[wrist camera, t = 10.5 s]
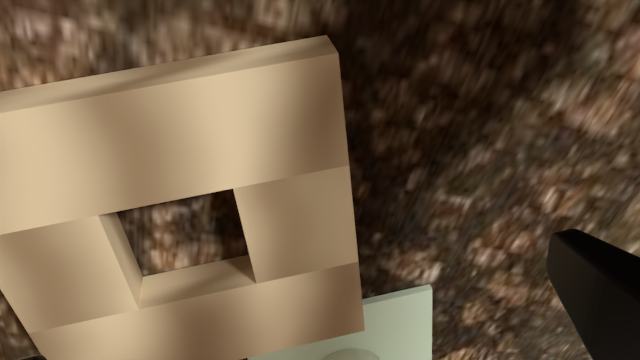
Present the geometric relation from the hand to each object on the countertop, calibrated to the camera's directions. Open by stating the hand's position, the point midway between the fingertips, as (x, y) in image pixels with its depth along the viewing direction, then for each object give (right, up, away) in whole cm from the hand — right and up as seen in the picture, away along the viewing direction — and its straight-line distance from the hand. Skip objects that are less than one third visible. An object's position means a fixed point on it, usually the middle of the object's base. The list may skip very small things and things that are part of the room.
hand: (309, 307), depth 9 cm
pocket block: (-6, 0, +13) cm, 15 cm away
